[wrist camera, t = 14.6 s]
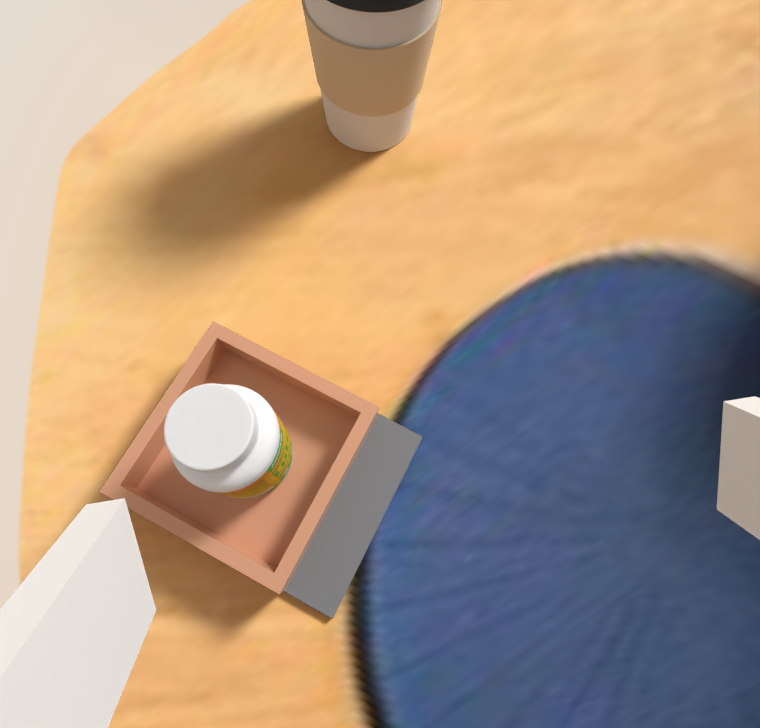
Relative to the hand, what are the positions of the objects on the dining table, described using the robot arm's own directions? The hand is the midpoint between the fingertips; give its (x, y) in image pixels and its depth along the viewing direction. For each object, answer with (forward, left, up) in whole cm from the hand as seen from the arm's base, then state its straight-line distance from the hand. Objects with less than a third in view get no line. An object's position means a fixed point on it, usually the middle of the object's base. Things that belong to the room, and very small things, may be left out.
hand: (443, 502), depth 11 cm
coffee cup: (+15, -26, -23) cm, 38 cm away
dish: (+9, +1, -22) cm, 24 cm away
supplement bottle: (+9, +1, -22) cm, 23 cm away
